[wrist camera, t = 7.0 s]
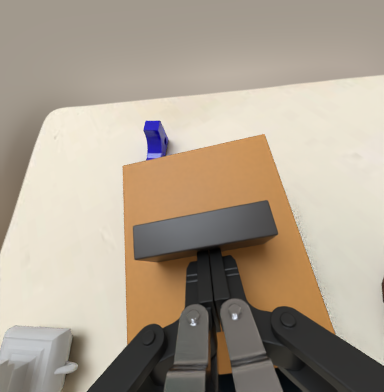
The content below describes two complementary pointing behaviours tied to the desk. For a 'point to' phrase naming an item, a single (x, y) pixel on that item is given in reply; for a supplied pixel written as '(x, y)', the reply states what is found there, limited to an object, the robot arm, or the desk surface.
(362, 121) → the desk surface
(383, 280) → the food container
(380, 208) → the desk surface
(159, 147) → the cable holder
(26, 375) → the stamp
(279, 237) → the lid
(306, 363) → the robot arm
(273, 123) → the desk surface
